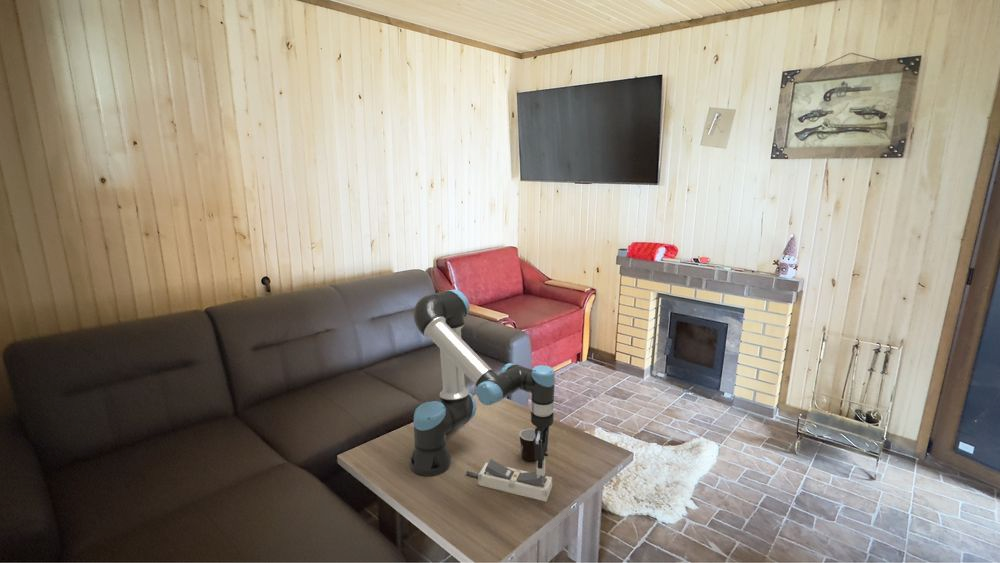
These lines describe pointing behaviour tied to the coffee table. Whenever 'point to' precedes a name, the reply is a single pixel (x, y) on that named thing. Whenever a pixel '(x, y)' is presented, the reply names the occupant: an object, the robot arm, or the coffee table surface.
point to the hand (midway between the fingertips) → (540, 474)
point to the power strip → (514, 484)
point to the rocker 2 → (531, 478)
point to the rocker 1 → (498, 470)
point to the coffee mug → (527, 445)
